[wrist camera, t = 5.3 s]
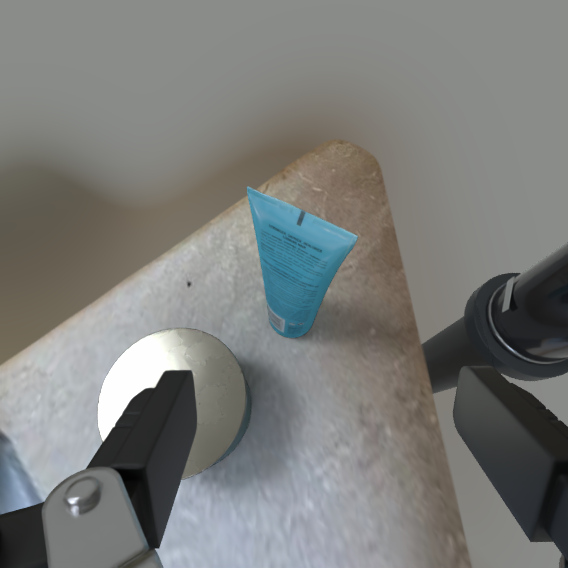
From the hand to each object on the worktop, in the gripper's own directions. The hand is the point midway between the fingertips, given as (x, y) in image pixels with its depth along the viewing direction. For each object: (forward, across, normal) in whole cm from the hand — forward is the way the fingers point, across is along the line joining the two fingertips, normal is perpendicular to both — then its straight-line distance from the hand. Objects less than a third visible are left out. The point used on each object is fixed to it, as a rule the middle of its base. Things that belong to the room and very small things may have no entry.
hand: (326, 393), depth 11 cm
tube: (+27, 0, -9) cm, 28 cm away
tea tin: (+20, -10, -16) cm, 28 cm away
